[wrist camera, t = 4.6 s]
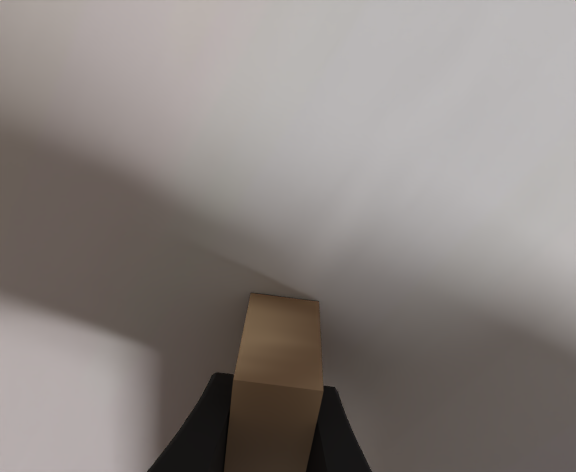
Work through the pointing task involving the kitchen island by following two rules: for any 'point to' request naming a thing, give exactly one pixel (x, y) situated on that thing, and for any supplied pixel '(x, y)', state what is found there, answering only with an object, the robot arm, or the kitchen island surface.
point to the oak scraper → (275, 386)
